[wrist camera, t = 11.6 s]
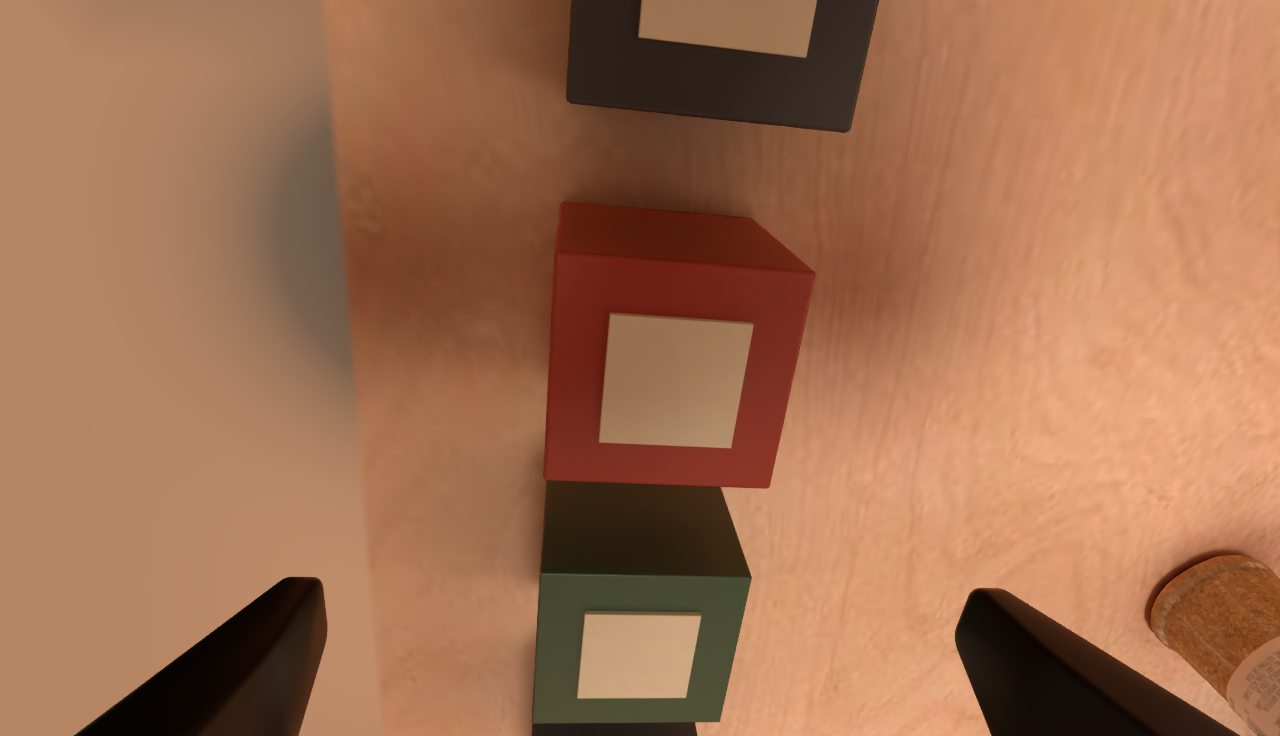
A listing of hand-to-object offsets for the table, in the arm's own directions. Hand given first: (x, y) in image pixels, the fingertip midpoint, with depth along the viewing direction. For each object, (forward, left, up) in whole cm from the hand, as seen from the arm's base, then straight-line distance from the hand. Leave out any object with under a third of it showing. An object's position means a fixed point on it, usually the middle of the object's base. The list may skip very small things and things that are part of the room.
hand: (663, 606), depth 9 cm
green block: (-2, -6, -10) cm, 12 cm away
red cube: (+1, +1, -10) cm, 10 cm away
